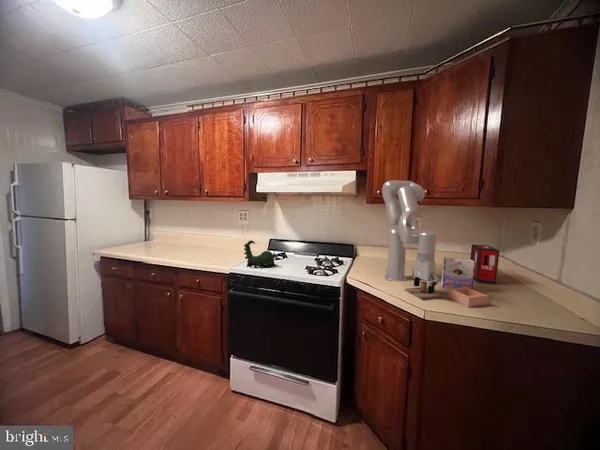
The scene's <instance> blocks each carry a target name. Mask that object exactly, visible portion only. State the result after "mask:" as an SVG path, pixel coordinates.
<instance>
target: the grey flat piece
mask: <svg viewBox="0 0 600 450" xmlns="http://www.w3.org/2000/svg"><path fill="white" fill-rule="evenodd" d="M407 293H408V294H410V293H409V292H407ZM416 298H418V297H416ZM418 299H419V298H418ZM443 299H445V298H444V297H443V298H435V299H425V300H422V301H423V302H425V301H435V300H443Z"/></svg>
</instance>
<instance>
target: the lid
mask: <svg viewBox="0 0 600 450" xmlns="http://www.w3.org/2000/svg"><path fill="white" fill-rule="evenodd" d="M404 291H405V292H407V293H408V292H409V293H408V294H410V295H412V296H414V297H416V298H417V297H418V299H419V300H421V301H423V300H425V299H435V298H444V297H443V296H444V295H442V294H440V293H438V292H436V291H434V293H431V294H429V293H428V281H420V286H417V287H409V288H405V289H404Z"/></svg>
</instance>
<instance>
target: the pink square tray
mask: <svg viewBox="0 0 600 450" xmlns="http://www.w3.org/2000/svg"><path fill="white" fill-rule="evenodd" d="M447 290H448V291H447V298H448V299H450V300H452V301H453V302H456V303H458V304H460V305H463V306H464V307H465V308H474V307H484V306H488V302H489V295H487V294H485V293H482V292H480V291H477V290H475V289H470V288H467V287H463V288H447Z"/></svg>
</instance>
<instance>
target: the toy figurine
mask: <svg viewBox="0 0 600 450" xmlns="http://www.w3.org/2000/svg"><path fill="white" fill-rule="evenodd" d="M251 244H253V245H256V242H255V241H254V240H247V243H245V244H244V245H243V247H244V248H243V250H244V251H245V252H244V253H243V254H244V255H246V256H245V257H244V259H245V260H248V262H247V263H248V264H249V265H250V264H252V266H253V267H256V266H258V267H261V266H262V265H265V266H266V267H267V268H270V267H271V266H272V263H273V261H274V258H275V257H277V254H274V253H272V252H271V251H269V250H265V251H262V252H261V254H258V255H254V254H253V253H252V250H251V247H250V246H251Z"/></svg>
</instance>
